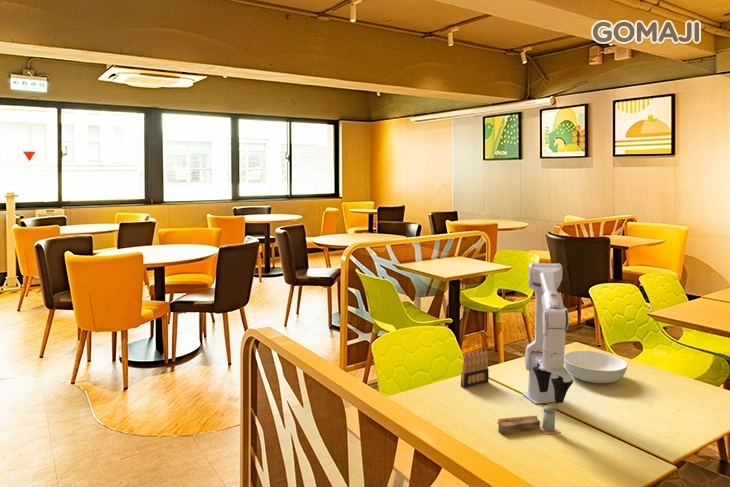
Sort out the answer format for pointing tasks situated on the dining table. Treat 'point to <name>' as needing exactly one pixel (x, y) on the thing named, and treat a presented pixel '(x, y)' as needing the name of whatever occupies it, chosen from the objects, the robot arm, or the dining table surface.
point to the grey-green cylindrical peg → (549, 418)
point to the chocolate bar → (515, 419)
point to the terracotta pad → (550, 432)
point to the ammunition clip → (475, 370)
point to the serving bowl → (595, 366)
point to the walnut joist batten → (519, 426)
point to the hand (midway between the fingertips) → (551, 397)
